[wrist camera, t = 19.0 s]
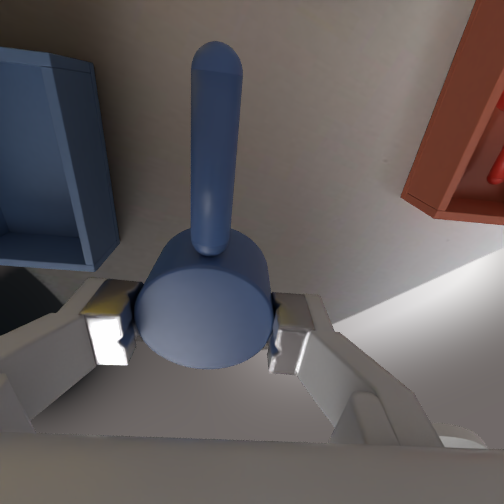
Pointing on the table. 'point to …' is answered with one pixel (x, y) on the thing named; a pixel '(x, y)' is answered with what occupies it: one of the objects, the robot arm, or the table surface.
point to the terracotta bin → (465, 129)
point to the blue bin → (53, 164)
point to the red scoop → (500, 169)
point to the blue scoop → (209, 242)
